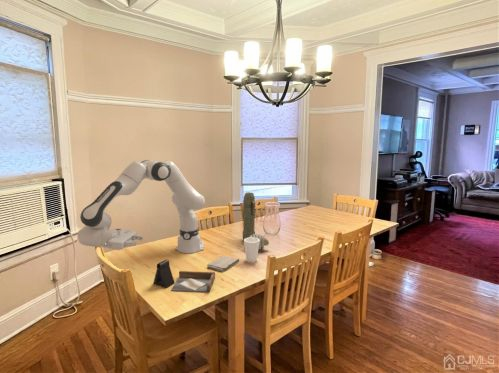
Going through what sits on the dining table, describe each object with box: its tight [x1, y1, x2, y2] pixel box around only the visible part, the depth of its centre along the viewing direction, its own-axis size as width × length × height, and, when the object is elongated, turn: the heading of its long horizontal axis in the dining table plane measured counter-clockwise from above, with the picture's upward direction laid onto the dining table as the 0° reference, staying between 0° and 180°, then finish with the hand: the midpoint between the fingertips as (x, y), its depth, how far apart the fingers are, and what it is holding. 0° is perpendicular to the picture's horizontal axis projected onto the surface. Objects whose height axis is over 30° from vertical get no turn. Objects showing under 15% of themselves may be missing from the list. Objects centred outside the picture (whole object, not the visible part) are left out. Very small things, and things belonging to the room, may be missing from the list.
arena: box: [170, 270, 216, 294], centre depth 161 cm, size 15×19×4 cm
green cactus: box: [242, 192, 256, 242], centre depth 224 cm, size 9×12×35 cm
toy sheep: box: [242, 233, 270, 252], centre depth 208 cm, size 11×17×11 cm, turn 95°
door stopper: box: [152, 259, 176, 289], centre depth 161 cm, size 9×6×12 cm, turn 61°
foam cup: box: [243, 237, 260, 263], centre depth 192 cm, size 10×9×13 cm
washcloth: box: [206, 255, 240, 273], centre depth 186 cm, size 12×18×3 cm, turn 152°
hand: (139, 241), depth 159 cm, fingers open, 8 cm apart
